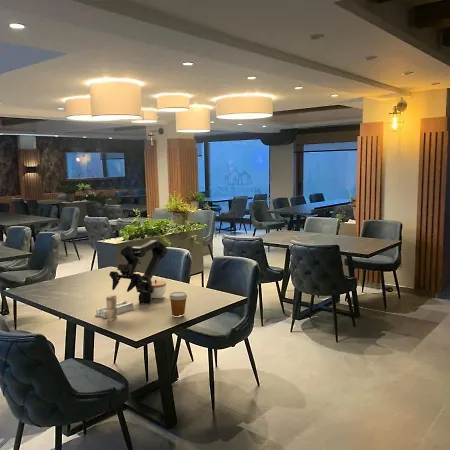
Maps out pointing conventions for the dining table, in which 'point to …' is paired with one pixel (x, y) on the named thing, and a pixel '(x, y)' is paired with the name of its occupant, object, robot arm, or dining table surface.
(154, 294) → the lidded bowl
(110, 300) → the beige tall block
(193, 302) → the dining table surface
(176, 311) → the disposable coffee cup
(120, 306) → the door track
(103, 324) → the dining table surface
